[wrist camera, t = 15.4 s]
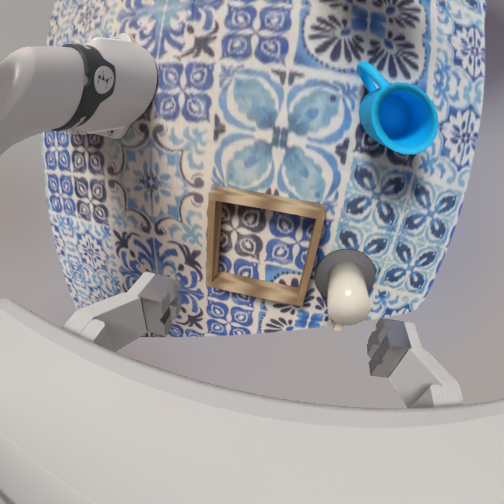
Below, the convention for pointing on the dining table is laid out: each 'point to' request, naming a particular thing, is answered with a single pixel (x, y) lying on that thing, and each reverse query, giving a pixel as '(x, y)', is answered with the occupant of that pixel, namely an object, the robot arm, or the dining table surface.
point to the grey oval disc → (339, 257)
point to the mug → (396, 113)
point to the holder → (250, 284)
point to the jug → (347, 294)
